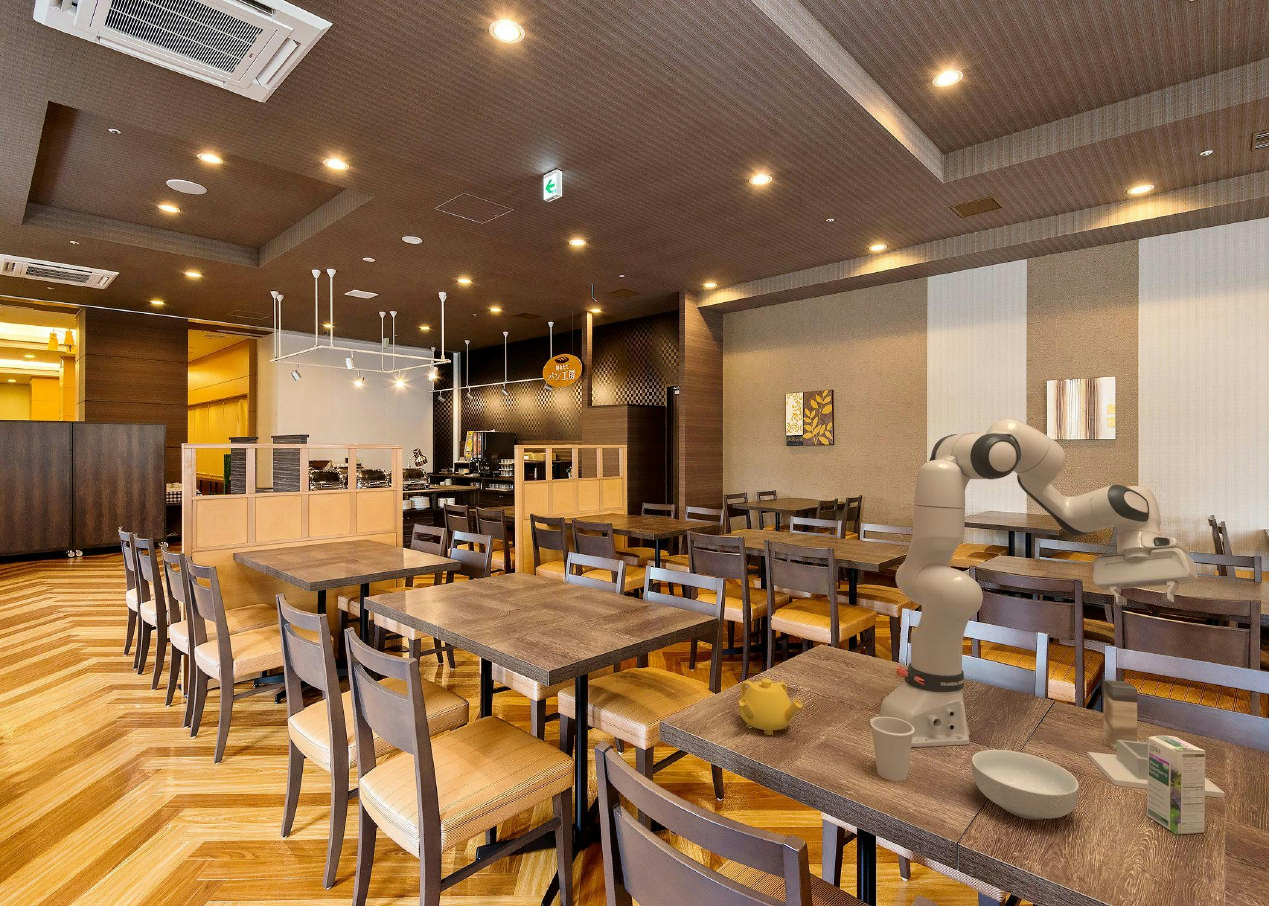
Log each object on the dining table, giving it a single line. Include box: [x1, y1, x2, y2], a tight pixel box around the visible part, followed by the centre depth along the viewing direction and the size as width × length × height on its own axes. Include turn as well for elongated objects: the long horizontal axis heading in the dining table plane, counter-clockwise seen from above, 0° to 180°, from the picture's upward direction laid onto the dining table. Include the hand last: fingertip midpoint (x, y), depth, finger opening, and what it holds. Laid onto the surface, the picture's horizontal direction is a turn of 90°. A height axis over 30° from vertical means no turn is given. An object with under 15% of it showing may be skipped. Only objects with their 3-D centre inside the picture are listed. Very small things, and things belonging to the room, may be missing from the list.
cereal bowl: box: [970, 749, 1080, 821], centre depth 115 cm, size 17×17×7 cm
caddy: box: [1087, 740, 1226, 799], centre depth 126 cm, size 12×18×5 cm, turn 75°
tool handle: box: [1103, 679, 1138, 752], centre depth 139 cm, size 4×4×14 cm
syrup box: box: [1146, 735, 1206, 835], centre depth 110 cm, size 6×6×14 cm
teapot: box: [738, 678, 804, 736], centre depth 148 cm, size 14×14×11 cm
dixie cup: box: [869, 716, 915, 782], centre depth 127 cm, size 8×8×10 cm
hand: (1144, 603), depth 146 cm, fingers open, 8 cm apart
